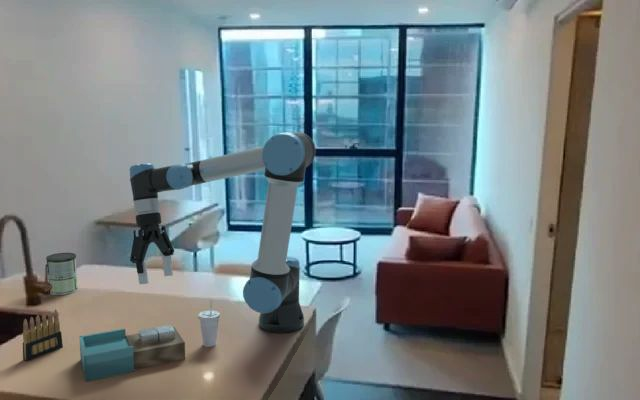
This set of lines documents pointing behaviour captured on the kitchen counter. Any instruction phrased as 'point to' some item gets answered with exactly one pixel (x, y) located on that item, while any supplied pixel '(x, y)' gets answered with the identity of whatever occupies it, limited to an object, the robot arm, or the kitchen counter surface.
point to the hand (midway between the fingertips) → (156, 279)
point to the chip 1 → (148, 336)
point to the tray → (105, 354)
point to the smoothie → (209, 326)
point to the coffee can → (62, 273)
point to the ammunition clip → (41, 336)
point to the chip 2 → (165, 332)
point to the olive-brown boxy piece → (156, 351)
